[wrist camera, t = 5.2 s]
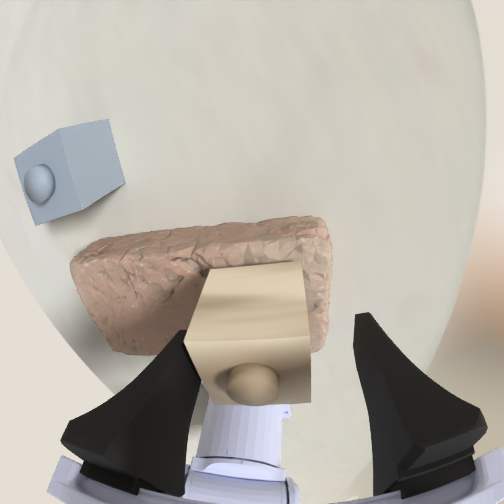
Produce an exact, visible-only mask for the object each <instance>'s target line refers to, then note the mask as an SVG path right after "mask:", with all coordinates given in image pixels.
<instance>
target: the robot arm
mask: <svg viewBox="0 0 504 504" xmlns="http://www.w3.org/2000/svg"><path fill="white" fill-rule="evenodd" d="M186 333H187V330H179V331H178V332H177V333H176V334H175V336H174V337H173V338H172V339H171V340H170V341H169V343H168V344H167V345H166V346H165V347H164V348H163V350H162V351H161V352H160V353H159V354H158V355H157V356H156V357H155V359H154V360H153V361H152V362H151V363H150V364H149V365H148V366H147V367H146V368H145V369H144V370H143V371H142V372H141V373H140V374H139V375H138V376H137V377H136V378H135V379H134V380H133V381H132V382H131V383H130V384H128V385H127V386H126V387H125V388H124V389H123V390H121V391H120V392H119V393H117V394H116V395H115V396H113V397H112V398H110V399H109V400H108V401H106V402H105V403H103V404H102V405H100V406H98V407H97V408H95V409H93V410H91V411H89V412H88V413H86V414H84V415H81V416H79V417H77V418H75V419H73V420H70V421H69V423H68V425H67V428H66V429H65V432H64V434H63V436H62V438H61V440H60V441H61V443H62V444H63V445H64V446H65V447H66V448H67V449H68V450H70V451H71V452H72V453H74V454H75V455H77V456H78V457H79V458H81V459H82V460H84V462H83V464H82V465H81V464H80V463H78V462H76V461H74V460H71V459H69V458H67V457H65V456H61V457H60V460H59V462H58V464H57V467H56V469H55V472H54V474H53V477H52V479H51V482H50V484H49V487H48V490H47V492H48V493H49V494H51V495H52V496H54V497H55V498H57V499H59V500H60V501H62V502H64V503H65V504H301V496H300V490H299V487H298V485H297V484H296V483H295V482H294V480H293V479H292V478H289V477H285V473H286V469H285V468H280V466H281V444H282V419H284V418H290V417H291V409H290V404H280V405H265V406H246V405H214V404H213V402H212V400H211V398H210V396H209V400H208V404H207V409H206V413H205V418H204V422H203V427H202V431H201V436H200V440H199V445H198V449H197V454H196V457H192V462H191V466H190V465H188V464H186V451H187V441H188V434H189V427H190V422H191V417H192V413H193V410H194V406H195V403H196V399H197V395H198V392H199V388H200V384H201V382H202V380H201V378H200V376H199V374H198V372H197V370H196V368H195V365H194V363H193V361H192V359H191V357H190V355H189V352H188V350H187V348H186V346H185V344H184V339H185V336H186ZM353 349H354V356H355V362H356V368H357V371H358V375H359V379H360V382H361V386H362V390H363V394H364V397H365V401H366V405H367V410H368V415H369V422H370V431H371V441H372V454H373V497H369V498H364V499H358V500H352V501H346V502H339V503H331V504H497V503H499V502H500V501H502V500H503V499H504V451H503V449H502V446H499V447H497V448H495V449H494V450H492V451H490V452H488V453H486V454H484V455H482V456H480V457H478V458H477V459H475V460H474V461H473V457H472V455H473V454H474V453H475V451H474V447H473V445H474V444H475V443H476V442H477V441H478V440H479V439H480V438H481V437H482V436H483V435H484V434H485V433H486V431H487V428H488V427H487V424H486V421H485V418H484V416H483V414H482V412H481V411H480V409H479V408H478V407H476V406H474V405H472V404H470V403H467V402H466V401H464V400H462V399H460V398H458V397H456V396H455V395H453V394H451V393H450V392H448V391H447V390H446V389H444V388H443V387H441V386H440V385H438V384H437V383H436V382H434V381H433V380H432V379H430V378H429V377H428V376H427V375H426V374H424V373H423V372H422V371H421V370H420V369H419V368H417V367H416V366H415V365H414V364H413V363H412V362H411V361H410V360H409V359H408V358H407V357H406V356H405V355H404V354H403V353H402V352H401V350H400V349H399V348H398V347H397V346H396V345H395V344H394V343H393V341H392V340H391V339H390V338H389V337H388V336H387V334H386V333H385V332H384V331H383V329H382V328H381V327H380V326H379V324H378V323H377V322H376V320H375V319H374V318H373V316H372V315H371V314H370V313H369V312H367V313H361V314H355V326H354V341H353ZM202 384H203V382H202ZM203 386H204V384H203ZM204 387H205V386H204ZM205 389H206V388H205ZM206 391H207V390H206ZM207 393H208V392H207ZM208 395H209V394H208Z"/></svg>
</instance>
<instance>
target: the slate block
mask: <svg viewBox="0 0 504 504" xmlns="http://www.w3.org/2000/svg"><path fill="white" fill-rule="evenodd" d="M14 160H15V164H16V168H17V172H18V175H19V179H20V182H21V185H22V189H23V192H24V195H25V198H26V201H27V204H28V207H29V210H30V212H31V215H32V218H33V220H34V223H35V226H37V225H40V224H42V223H45V222H48V221H51V220H54V219H57V218H60V217H63V216H66V215H69V214H72V213H75V212H78V211H81V210H83V209H85V208H86V207H88V206H89V205H91V204H92V203H94V202H96V201H97V200H99V199H100V198H102V197H103V196H105V195H107V194H108V193H110V192H111V191H113V190H115V189H116V188H118V187H120V186H121V185H123V184H125V183H126V182H125V179H124V175H123V172H122V168H121V165H120V161H119V158H118V154H117V150H116V147H115V143H114V139H113V135H112V131H111V127H110V123H109V119H106V120H100V121H95V122H89V123H84V124H79V125H74V126H70V127H65V128H61V129H58V130H56V131H54V132H53V133H51V134H49V135H48V136H46V137H45V138H43V139H41V140H40V141H38V142H37V143H35V144H34V145H32V146H31V147H29V148H28V149H26V150H25V151H23V152H22V153H20V154H19V155H17V156H16V157H15V158H14Z"/></svg>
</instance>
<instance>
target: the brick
mask: <svg viewBox="0 0 504 504" xmlns="http://www.w3.org/2000/svg"><path fill="white" fill-rule="evenodd" d="M332 259H333V258H332V244H331V239H330V236H329V233H328V228H327V226H326V223H325V221H324V220H323V219H322V218H318V217H313V216H307V217H296V216H291V217H284V218H275V219H269V220H264V221H261V222H258V223H236V222H232V223H224V224H219V225H216V226H194V227H188V228H177V229H174V230H168V229H167V230H159V231H151V232H145V233H144V232H143V233H137V234H129V235H125V236H119V237H108V238H105V239H100V240H98V241H96V242H94V243H92V244H91V245H89V246H88V247H87V248H86V249H85V250H83V251H82V252H80V253H79V254H78V255H77V256H75V257H74V258H73V259H72V261H71V262H70V271H71V275H72V278H73V281H74V283H75V285H76V287H77V292H78V294H79V295H80V297H81V299H82V301H83V303H84V305H85V307H86V308H87V310H88V312H89V315H90V316H91V318H92V319H93V321H94V322H95V323H96V324H97V326H98V328H99V329H100V330H101V332H102V334H103V335H105V337H106V339H107V341H108V343H109V344H110V346H111V348H112V350H113V351H116V352H123V353H125V354H129V355H158V354H159V353H160V352H161V351H162V350H163V348H164V347H165V346H166V345H167V344H168V343H169V341H170V340H171V339H172V338H173V337H174V336H175V334H176V333H177V332H178V331H179V330H188V328H189V325H190V322H191V319H192V317H193V314H194V311H195V309H196V306H197V303H198V300H199V298H200V295H201V292H202V290H203V287H204V284H205V282H206V279H207V277H208V274H209V271H210V269H219V268H230V267H241V266H252V265H263V264H273V263H284V262H294V261H301V264H302V272H303V279H304V287H305V296H306V304H307V313H308V322H309V331H310V353H314V352H317V351H319V350H320V349H321V348H322V347H323V346H324V344H325V340H326V336H327V333H328V327H329V319H328V311H329V304H330V302H329V297H330V279H331V274H332Z"/></svg>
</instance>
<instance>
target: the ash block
mask: <svg viewBox="0 0 504 504" xmlns="http://www.w3.org/2000/svg"><path fill="white" fill-rule="evenodd" d="M184 344H185V346H186V348H187V350H188V352H189V355H190V357H191V359H192V361H193V363H194V365H195V368H196V370H197V372H198V374H199V376H200V378H201V380H202V382H203V384H204V386H205V388H206V390H207V392H208V394H209V396H210V398H211V400H212V402H213V404H214V405H246V406H265V405H280V404H297V403H310V402H311V355H310V331H309V322H308V313H307V304H306V296H305V287H304V279H303V272H302V264H301V261H294V262H284V263H273V264H263V265H252V266H241V267H230V268H219V269H210V271H209V274H208V277H207V279H206V282H205V284H204V287H203V290H202V292H201V295H200V298H199V300H198V303H197V306H196V309H195V311H194V314H193V317H192V319H191V322H190V325H189V328H188V330H187V333H186V336H185V339H184Z"/></svg>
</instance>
